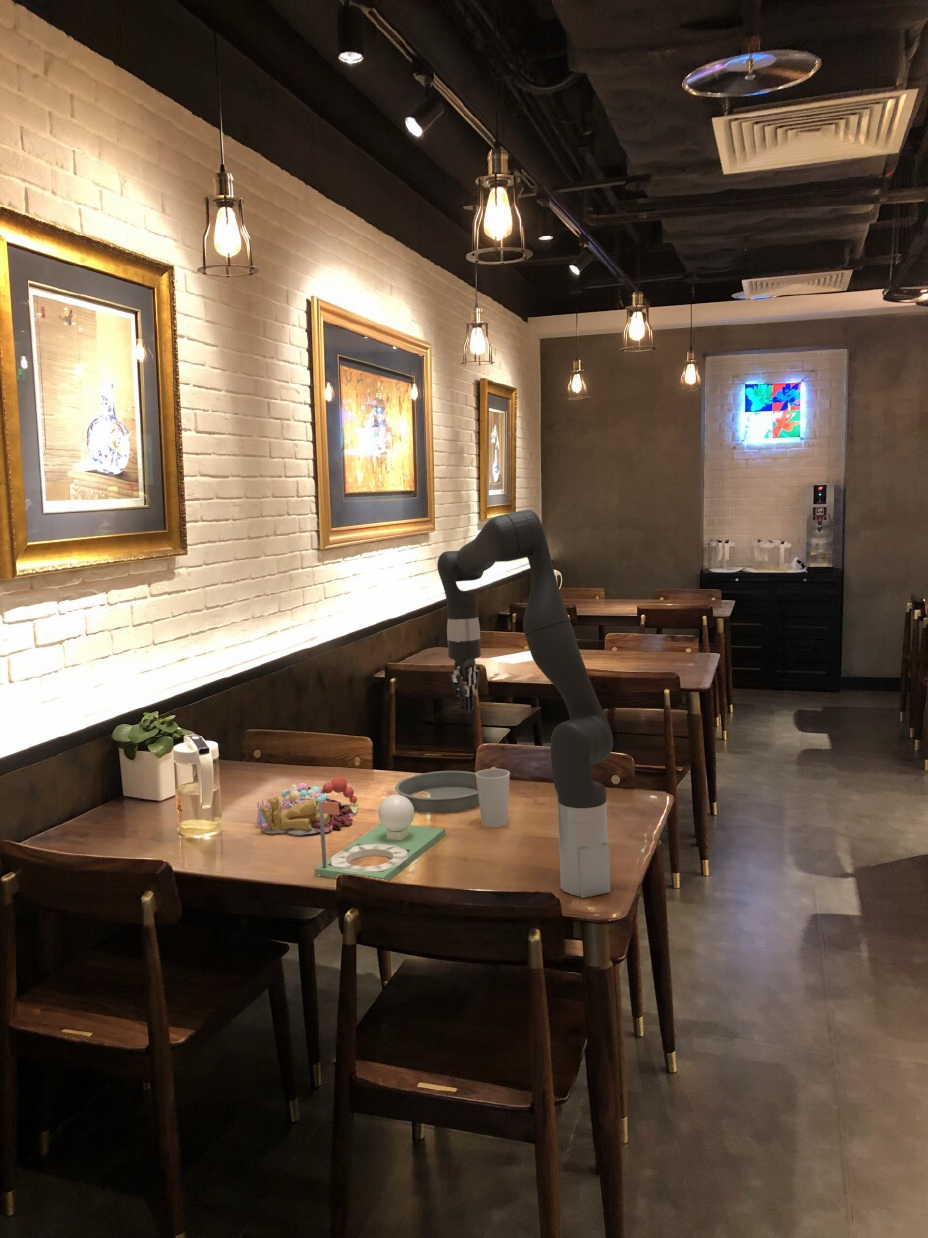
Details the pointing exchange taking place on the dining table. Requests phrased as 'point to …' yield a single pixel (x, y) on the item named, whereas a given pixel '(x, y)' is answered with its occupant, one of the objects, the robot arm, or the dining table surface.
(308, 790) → the coral reef model
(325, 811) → the mini golf board
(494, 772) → the cup
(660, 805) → the dining table surface
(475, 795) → the round baking tin
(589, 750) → the robot arm
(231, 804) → the dining table surface
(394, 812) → the ball
